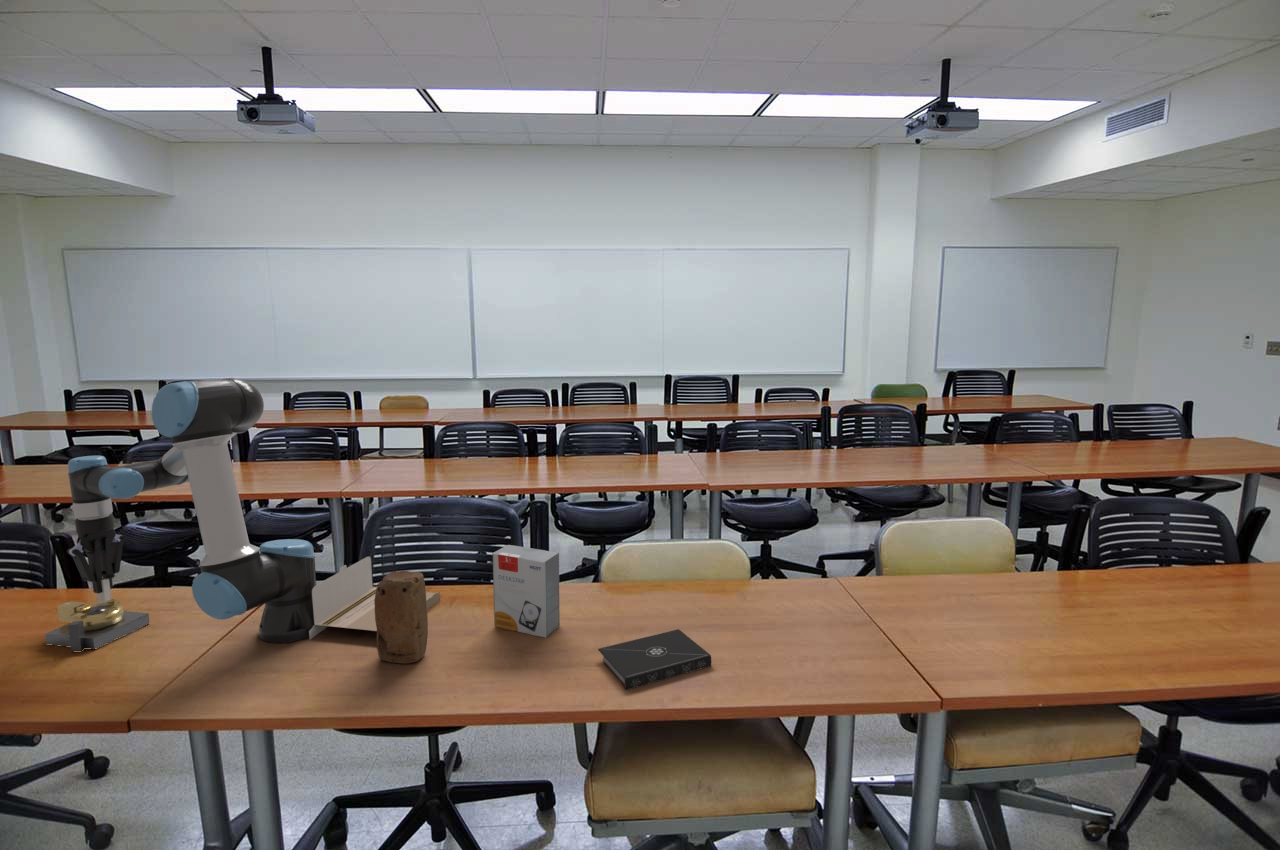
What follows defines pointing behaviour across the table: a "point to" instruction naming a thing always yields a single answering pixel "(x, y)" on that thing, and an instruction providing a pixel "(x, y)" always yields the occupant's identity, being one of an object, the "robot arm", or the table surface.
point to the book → (655, 658)
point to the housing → (95, 632)
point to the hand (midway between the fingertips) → (105, 602)
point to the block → (401, 617)
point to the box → (349, 599)
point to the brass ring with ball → (92, 613)
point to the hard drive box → (526, 590)
